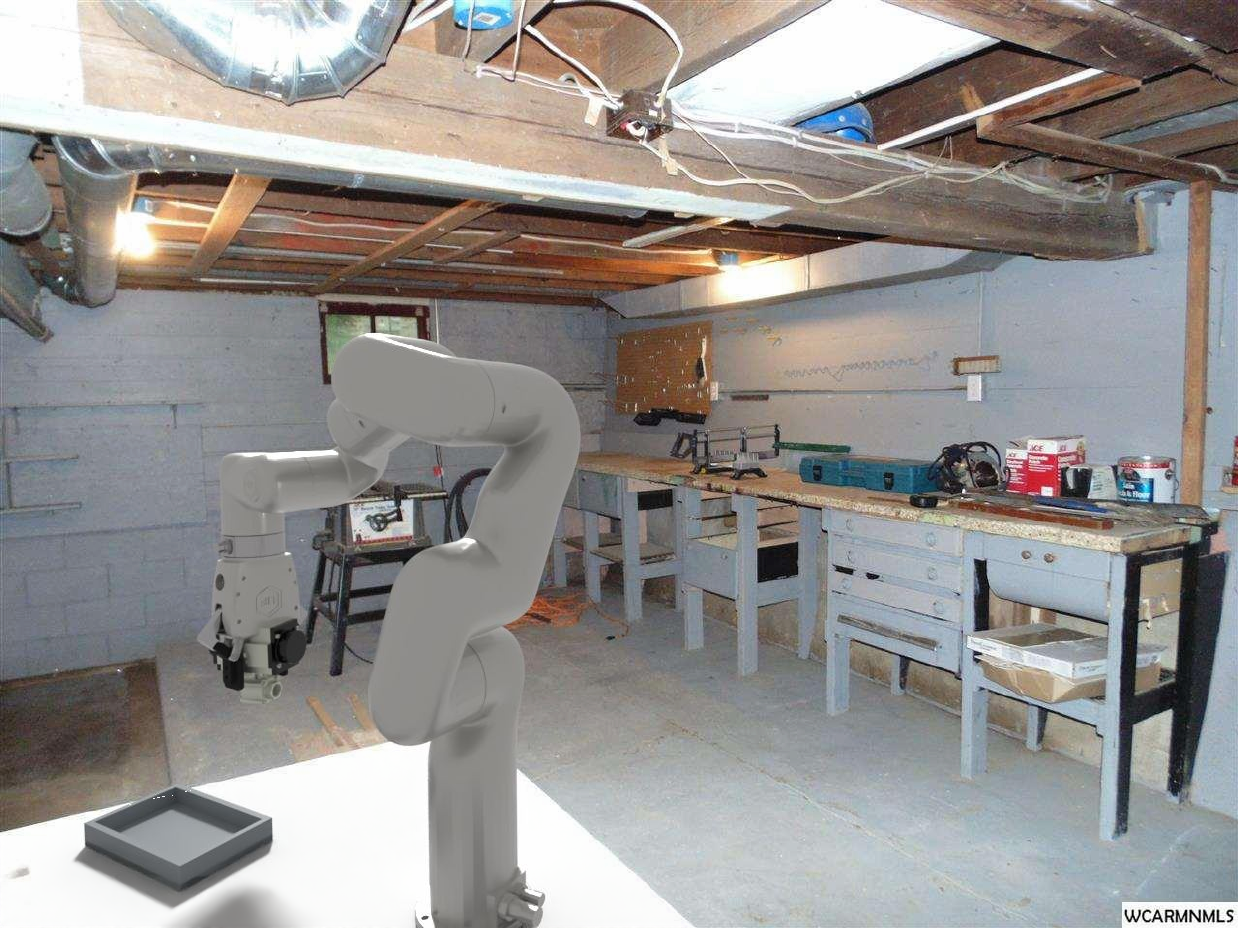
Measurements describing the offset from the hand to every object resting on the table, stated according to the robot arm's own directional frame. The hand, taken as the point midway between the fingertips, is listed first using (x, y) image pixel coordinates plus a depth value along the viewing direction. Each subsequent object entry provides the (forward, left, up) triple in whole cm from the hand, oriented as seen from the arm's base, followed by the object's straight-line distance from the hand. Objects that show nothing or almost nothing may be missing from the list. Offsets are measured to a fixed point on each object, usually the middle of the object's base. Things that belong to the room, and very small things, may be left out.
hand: (257, 679), depth 99 cm
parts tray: (+5, +8, -20) cm, 22 cm away
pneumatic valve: (0, 0, -3) cm, 3 cm away
